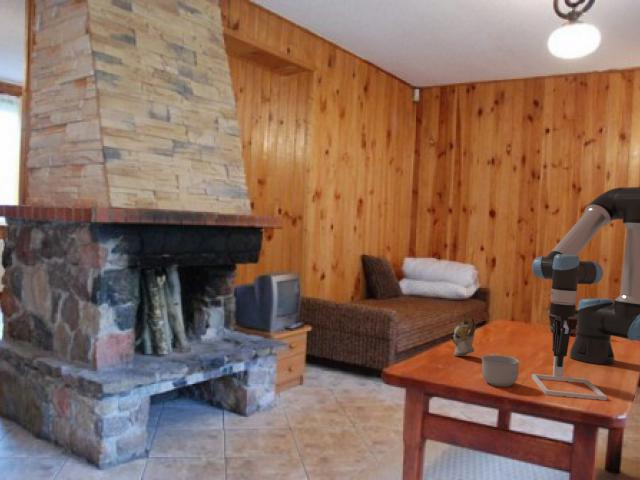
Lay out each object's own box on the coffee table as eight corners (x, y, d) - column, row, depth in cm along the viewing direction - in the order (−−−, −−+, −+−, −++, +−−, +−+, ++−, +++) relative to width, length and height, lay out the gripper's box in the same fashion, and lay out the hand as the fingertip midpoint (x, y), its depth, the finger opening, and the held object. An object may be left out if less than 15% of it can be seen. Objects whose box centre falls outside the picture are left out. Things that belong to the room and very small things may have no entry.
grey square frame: (586, 385, 178) (586, 379, 178) (606, 403, 160) (607, 396, 159) (531, 379, 180) (532, 373, 180) (545, 397, 162) (545, 390, 162)
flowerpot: (539, 329, 271) (542, 288, 271) (569, 331, 273) (572, 290, 272) (555, 336, 257) (558, 292, 256) (586, 337, 259) (589, 294, 258)
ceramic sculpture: (445, 352, 211) (448, 312, 210) (467, 353, 212) (470, 313, 211) (454, 359, 200) (457, 317, 200) (478, 360, 201) (481, 319, 200)
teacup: (519, 391, 165) (521, 364, 165) (481, 387, 167) (483, 360, 167) (513, 378, 179) (515, 354, 178) (478, 375, 181) (479, 350, 181)
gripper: (545, 299, 186) (540, 369, 187) (556, 304, 173) (550, 380, 174) (569, 301, 185) (564, 371, 186) (581, 306, 172) (576, 382, 173)
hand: (557, 375), depth 180 cm, fingers closed
